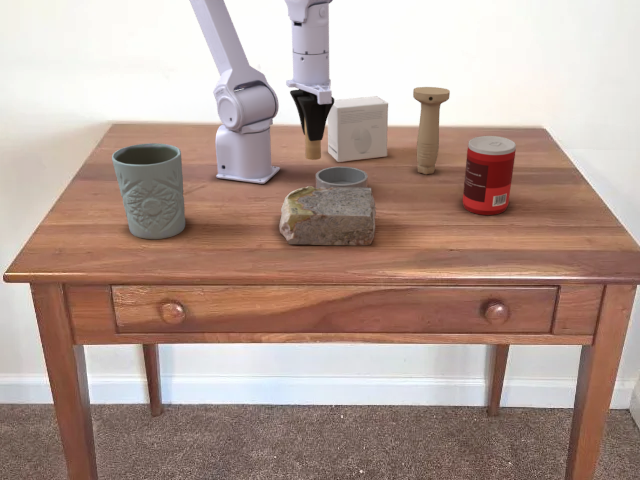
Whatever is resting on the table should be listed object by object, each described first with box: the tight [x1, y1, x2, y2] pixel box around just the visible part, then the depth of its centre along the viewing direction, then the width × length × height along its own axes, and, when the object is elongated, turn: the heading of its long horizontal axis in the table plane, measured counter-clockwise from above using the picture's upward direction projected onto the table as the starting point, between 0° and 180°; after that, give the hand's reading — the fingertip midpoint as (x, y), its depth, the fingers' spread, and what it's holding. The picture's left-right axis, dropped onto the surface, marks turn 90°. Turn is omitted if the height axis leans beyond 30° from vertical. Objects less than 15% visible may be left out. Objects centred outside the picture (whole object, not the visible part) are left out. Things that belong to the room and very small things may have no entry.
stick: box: [304, 117, 322, 161], centre depth 122 cm, size 3×3×8 cm
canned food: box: [462, 135, 517, 216], centre depth 123 cm, size 8×8×11 cm
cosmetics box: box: [327, 95, 389, 163], centre depth 144 cm, size 10×6×10 cm, turn 111°
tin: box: [315, 166, 369, 189], centre depth 130 cm, size 9×9×3 cm
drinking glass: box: [111, 142, 186, 240], centre depth 114 cm, size 10×10×12 cm
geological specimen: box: [278, 185, 377, 246], centre depth 115 cm, size 11×6×15 cm
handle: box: [412, 86, 451, 175], centre depth 135 cm, size 5×6×15 cm
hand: (312, 137), depth 123 cm, fingers closed on stick, 2 cm apart
